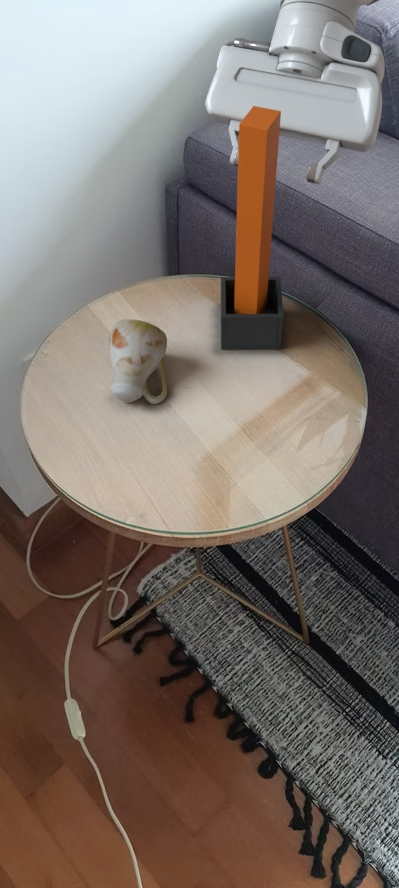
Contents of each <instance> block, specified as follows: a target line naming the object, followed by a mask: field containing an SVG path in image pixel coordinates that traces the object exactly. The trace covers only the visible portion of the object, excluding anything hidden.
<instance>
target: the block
mask: <svg viewBox="0 0 399 888" xmlns="http://www.w3.org/2000/svg"><path fill="white" fill-rule="evenodd" d="M280 117H281V111H278V110H273V109H267V108H262V107H257V106H253V107H252V108H251V110H250V111H249V112H248V114H247V115H246V116H245V118H244V119H243V120H242V121H241V123H240V124H239V153H238V167H237V189H236V190H237V194H236V195H237V196H236V228H235V229H236V234H235V270H234V271H235V272H234V277H235V303H234V314H266V305H267V292H268V278H269V277H270V276H269V275H270V265H271V263H270V262H271V252H272V251H271V249H272V237H273V225H274V210H275V209H274V208H275V196H276V184H277V183H276V182H277V172H278V171H277V170H278V155H279V145H280V144H279V143H280V142H279V141H280V135H279V131H280Z"/></svg>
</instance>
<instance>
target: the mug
mask: <svg viewBox="0 0 399 888" xmlns="http://www.w3.org/2000/svg"><path fill="white" fill-rule="evenodd" d="M167 347H168V337H167V335H166V332H164V331H163V330H162V329H161V328H160V327H158V326H157V325H155V324H152V323H150V322H147V321H144V320H139V319H132V318H130V319H128V318H127V319H125V318H124V319H121V320H119V321H117V322H116V323H115V324H114V325H112V328H111V331H110V334H109V338H108V350H109V355H110V361H111V367H112V376H111V382H110V385H109V390H110V392H111V393H112V395H113V396H114V398H116V399H117V400H119V401H122V402H125V403H132V402H135V401H137V400H139V399H141V397H143V398H144V399H145V400H146V401H147V402H148V403H150V404H152V405H156V404H159V403H162V402H163V401H164V400H165V399H166V397H167V395H168V384H167V383H168V382H167V379H166V372H165V358H164V357H165V355H166V352H167V349H168V348H167ZM155 370H156V371H157V373H158V378H159V380H160V385H161V393H160V394H159V395H157V396H156V395H153V394H151V393H150V391H149V387H148V382H147V381H148V380H149V378H150V377H151V376H152V374H153V373H154V372H155Z"/></svg>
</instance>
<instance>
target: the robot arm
mask: <svg viewBox="0 0 399 888" xmlns="http://www.w3.org/2000/svg"><path fill="white" fill-rule="evenodd" d="M379 1H380V0H283V2H282V4H281V6H280V9H279V12H278V16H277V18H276V24H275V26H274V30H273V34H272V36H271V41H270V42H267V41H261V40H250V39H247V38H243V37H236V38H234V40H231V41H228V42H227V43H225V44H224V45H222V46H221V48H220V50H219V54H218V58H217V61H216V72H215V73H214V76H213V78H212V80H211V83H210V86H209V89H208V92H207V95H206V99H205V103H204V104H205V105H204V106H205V109H206V111H207V113H208V115H209V117H210V118H211V119H212V120H213V121H214V122H215V123H218V124H222V125H228V133H229V138H230V141H231V146H232V151H231V154H230V158H229V163H230V165H231V166H234V167H237V168H238V153H239V124H240V123H241V121H242V120H243V119H244V118H245V116H246V115H247V114H248V112H249V111H250V110H251V108H252V107H253V106H257V107H262V108H267V109H273V110H278V111H281V117H280V131H279V136H281V137H285V138H286V137H287V138H291V139H297V140H301V141H307V142H310V143H311V142H312V143H316V144H321V145H325V147H324V149H325V153H326V154H324V156H323V157H322V158H321V159H320V160H319V162H317V163H313V162H310V163H309V166H308V172H307V173H306V177H305V178H306V179H305V180H306V181H307V183H311V184H315V185H321V183H322V180H323V177H324V173H325V171H326V170H327V169H328V168H329V167H330V166H331V165H332V164H334V162H335V161H336V160H337V159H338V158H339V156H340V153H341V150H342V149H346V150H351V151H354V152H355V151H356V152H358V153H359V152H360V153H367V152H368V151H369V150H370V149H371V148H372V147H374V145H375V143H376V140H377V137H378V133H379V130H380V129H379V128H380V123H381V117H382V111H383V93H382V86H381V84H382V82H383V79H384V76H385V69H386V63H385V58H384V54H383V52H382V49H381V47H380V46H379V45H377V44H376V43H373V42H372V41H370V40H368V39H366V38H365V37H363V36H361V35H359V34H358V33H356V27H357V26H356V25H357V16H358V12H359V10H360V9H361V6H364V5H366V6H368V7H369V6H370V5H373V4H375V3H377V2H379Z"/></svg>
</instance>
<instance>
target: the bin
mask: <svg viewBox="0 0 399 888" xmlns="http://www.w3.org/2000/svg"><path fill="white" fill-rule="evenodd" d="M281 282H282V281H281V276H269V278H268V292H267V305H266V314H234V303H235V276H221V277H220V350H221V351H223V350H224V351H225V350H226V351H227V350H231V351H233V350H234V351H235V350H237V351H238V350H281V348H282V346H281V345H282V339H283V328H284V318H285V316H284V315H285V314H284V304H283V296H282V295H283V292H282V283H281Z"/></svg>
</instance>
